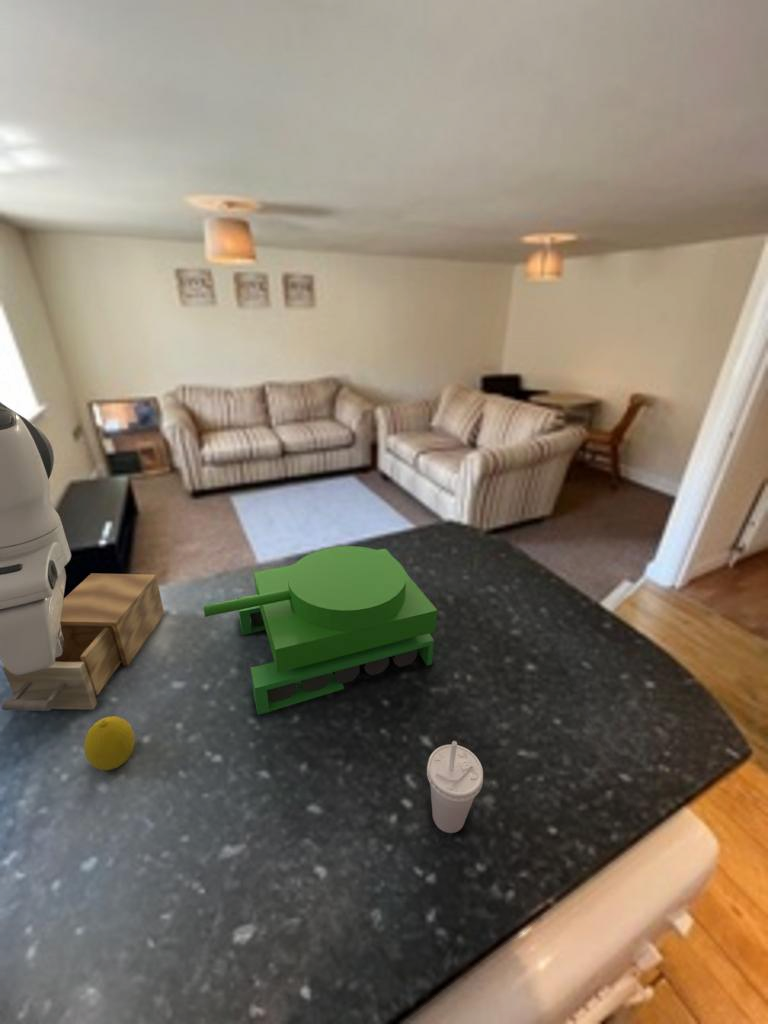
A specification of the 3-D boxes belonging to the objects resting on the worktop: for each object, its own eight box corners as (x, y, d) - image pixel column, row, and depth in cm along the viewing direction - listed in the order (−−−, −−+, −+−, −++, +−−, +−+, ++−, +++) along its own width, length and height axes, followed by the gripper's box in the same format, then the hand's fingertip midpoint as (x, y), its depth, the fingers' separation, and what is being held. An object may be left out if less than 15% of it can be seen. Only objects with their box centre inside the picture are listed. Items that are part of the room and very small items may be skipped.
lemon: (112, 790, 57) (97, 747, 54) (83, 772, 59) (67, 730, 56) (149, 755, 62) (137, 713, 58) (121, 739, 64) (108, 698, 60)
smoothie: (414, 803, 57) (421, 725, 51) (459, 789, 59) (471, 712, 53) (434, 857, 51) (444, 776, 46) (483, 840, 53) (500, 760, 47)
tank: (211, 629, 86) (199, 556, 79) (379, 593, 98) (382, 527, 92) (221, 732, 65) (206, 644, 59) (432, 669, 78) (440, 591, 71)
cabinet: (129, 670, 76) (116, 622, 72) (56, 669, 76) (39, 621, 71) (165, 617, 89) (156, 574, 84) (103, 616, 88) (91, 573, 84)
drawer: (74, 736, 63) (58, 692, 60) (-4, 735, 63) (-25, 691, 59) (136, 649, 79) (126, 611, 76) (73, 648, 79) (60, 610, 75)
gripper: (1, 522, 56) (34, 612, 62) (-40, 611, 40) (10, 720, 46) (61, 513, 59) (87, 599, 65) (45, 592, 43) (82, 697, 49)
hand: (55, 650), depth 55 cm, fingers closed
